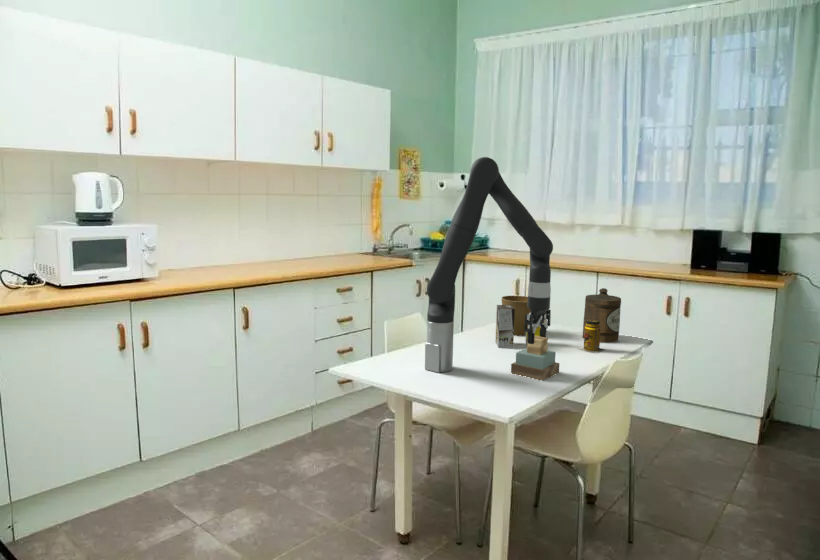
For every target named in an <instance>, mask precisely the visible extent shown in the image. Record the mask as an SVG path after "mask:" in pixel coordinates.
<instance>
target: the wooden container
mask: <svg viewBox="0 0 820 560" xmlns="http://www.w3.org/2000/svg"><path fill="white" fill-rule="evenodd" d="M598 292H599V293H598V294H587V295H586V296H585V300H584V313H583V322H582V323H583V324H582V325H583V326H582V338H583V339H584V331H585V327H586V320H598V321H600V344H601V343H603V344H604V343H605V344H606V343H607V344H609V343H611V344H612V343H616V342H618V341H619V339H620V338H619V336H620V324H621V307H622V306H621V305H622V298H621V297H620V296H616V295H610V294H608V289H607V288H605V287H602V288H600V289H599V291H598Z"/></svg>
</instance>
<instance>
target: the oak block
mask: <svg viewBox="0 0 820 560" xmlns="http://www.w3.org/2000/svg"><path fill="white" fill-rule="evenodd" d="M548 338H549V337H546V338H545V337H540V336H535V339H534V344H528V340H527V344H526V345H527V346H526V348H527V352H528V353H532V354H537V355H542V354H544V353H546V352H547V350H548V344H549V342H548V341H549V339H548Z"/></svg>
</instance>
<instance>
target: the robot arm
mask: <svg viewBox="0 0 820 560" xmlns="http://www.w3.org/2000/svg"><path fill="white" fill-rule="evenodd" d="M470 167H471V168H470V172H469V177H468V181H467V185H466V188H465V191H464V194H463V196H462V199H461V200H460V202H459V204H458V206H457V208H456V211H455V212H454V214H453V216H452V219H451V222H450V224H449V227H448V230H447V233H446V235H445V239H444V242H443V245H442V249H441V252H440V253H441V254H440V257H439V260H438V263H437V265H436V268H435V269H434V272H433V274H432V276H431V278H430V280H429V281H428V283H427V286H426V293H427V294H426V295H427V296H428V307H427V309H428V310H427V314H426V315H427V318H426V342H425V344H424V370H428V371H430V372H434V373H445V372H450V371H452V370H453V369H454V368H453V366H454V365H453V363H454V361H453V360H454V358H453V357H454V325H455V324H454V323H455V319H454V318H455V308H456V305H455V304H456V280H457V277H458V273H459V272H460V267H461V266H462V264H463V262H464V260H465V259H466V257H467V255H468V253H469V251H470V249H471V247H472V244H473V243H474V240H475V237H476V234H477V232H478V230H479V227H480V222H481V218H482V215H483V211H484V207H485V203H486V201H487V198H488V196H489V195H490V197H491V198H492V199H493V201H494V202H495V203H496V204H497V206H498V208H499V209H500V210H501V212H502V213H503V215H504V216H505V218H506V219H507V221H508V223H509V224H510V225H511V226H512V227H513V229H514V230H515V231H516V233H517V234H518V236H520V237H521V238H522V239H523V241H525V243H526V245H527V247H528V248H529V277H528V278H529V279H528V281H529V282H528V285H527V297H528V302H527V307H528V308H529V309H530V310H531V313H530V314H526V315H525V326H524V331H525V332H528V344H534V339H535V330H536V328H538V326H540V337H545V338H547V331H548V330H547V329H548V328H549V327H550V326H551V318H552V317H551V316H552V315H551V309H550V308H551V295H552V294H551V292H552V290H551V289H552V288H551V278H552V277H551V275H552V274H551V272H552V270H551V265H550V260H551V254H553V250H554V243H553V242H552V240H551V239H550V237H549V236H548V235H547V234H546V233H545V232H544V230H543V229H542V228H541V227H540V226H539V225H538V223H537V222H536V220H535V218H534V217H533V216H532V215H531V213H530V212H529V211H528V209H527V208H526V207H525V206H524V204H523V203H522V202H521V201H520V200H519V199H518V198H517V196H516V195H515V194H514V193H513V192H512V190H511V188H509V187H508V185H507V184H506V181H504V179H503V176H502V175H501V173H500V170H499V165H498V164H497V162H496V161H495V160H494V159H493V158H491V157H488V156H483V157H480V158H477V159H476V160H475V161H474V162H473V163H472V165H471V166H470ZM527 325H528V328H527ZM532 329H533V330H532Z"/></svg>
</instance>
